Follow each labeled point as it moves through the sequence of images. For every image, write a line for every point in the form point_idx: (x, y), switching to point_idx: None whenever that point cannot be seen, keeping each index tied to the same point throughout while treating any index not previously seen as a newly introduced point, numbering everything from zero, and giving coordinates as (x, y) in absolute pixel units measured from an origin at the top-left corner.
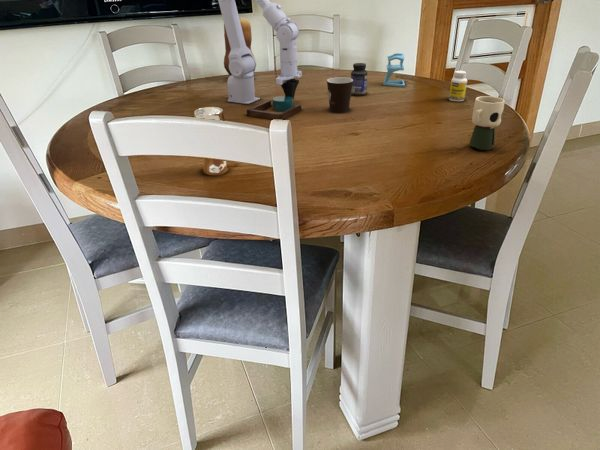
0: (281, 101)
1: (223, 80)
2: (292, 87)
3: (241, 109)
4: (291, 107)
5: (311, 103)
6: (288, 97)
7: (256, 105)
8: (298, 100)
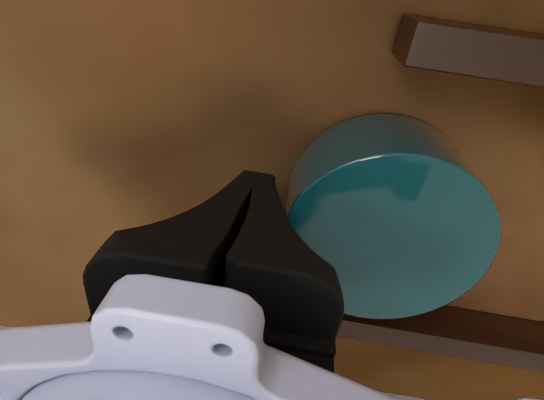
0: (499, 231)
1: None
2: (305, 249)
3: (429, 392)
4: (413, 124)
5: (122, 3)
6: (333, 214)
7: (483, 360)
8: (101, 161)
